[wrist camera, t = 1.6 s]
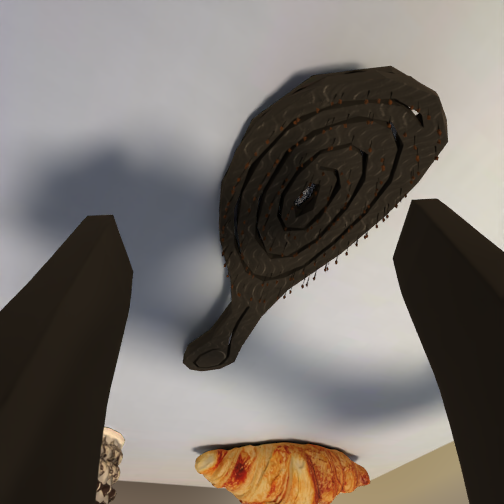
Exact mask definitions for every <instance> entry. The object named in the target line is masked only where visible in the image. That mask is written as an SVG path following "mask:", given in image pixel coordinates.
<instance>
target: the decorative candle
mask: <svg viewBox="0 0 504 504" xmlns="http://www.w3.org/2000/svg"><path fill="white" fill-rule="evenodd" d="M124 441H125V439H124V438H123V437H122V435H121V434H120V433H118V432H116V431H114V430H112V429H110V428H106V427H104V431H103V439H102V446H101V455H100V464H99V473H98V482H97V491H96V502H95V504H108V503H109V502H111V501H113V500H114V499H115V496H116V490H114V489H113V488H112V487H111V486H112V485H113V484H114V483H115V482H116V481H117V480H118V478H119V476H120V469H119V467H118V465H119V464H120V463H121V460H122V458H123V454H122V451H121V449H122V447H123V444H124Z"/></svg>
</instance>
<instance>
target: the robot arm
mask: <svg viewBox="0 0 504 504" xmlns="http://www.w3.org/2000/svg"><path fill="white" fill-rule="evenodd" d="M393 261H394V266H395V270H396V274H397V278H398V282H399V286H400V289H401V293H402V296H403V298H404V301H405V304H406V306H407V309H408V311H409V314H410V316H411V319H412V321H413V324H414V326H415V328H416V331H417V333H418V336H419V338H420V341H421V343H422V346H423V348H424V350H425V353H426V355H427V358H428V360H429V363H430V365H431V368H432V370H433V373H434V375H435V378H436V381H437V384H438V386H439V389H440V393H441V396H442V399H443V403H444V406H445V410H446V413H447V417H448V420H449V424H450V427H451V431H452V435H453V439H454V442H455V446H456V450H457V454H458V457H459V461H460V465H461V469H462V473H463V478H464V482H465V486H466V491H467V495H468V499H469V504H504V252H503V251H502V250H501V249H499V248H498V247H497V246H496V245H494V244H493V243H492V242H491V241H489V240H488V239H487V238H486V237H484V236H483V235H482V234H481V233H480V232H478V231H477V230H476V229H475V228H473V227H472V226H471V225H470V224H469V223H467V222H466V221H465V220H464V219H462V218H461V217H460V216H459V215H458V214H456V213H455V212H454V211H453V210H451V209H450V208H449V207H448V206H446V205H445V204H444V203H442V202H441V201H440V200H438V199H418V200H412V201H411V204H410V207H409V210H408V213H407V216H406V219H405V222H404V225H403V228H402V231H401V234H400V237H399V241H398V244H397V247H396V250H395V253H394V256H393ZM132 279H133V270H132V267H131V264H130V261H129V258H128V256H127V253H126V250H125V247H124V244H123V241H122V239H121V236H120V233H119V230H118V227H117V225H116V222H115V219H114V216H113V215H94V216H87V217H86V218H85V219H84V220H83V221H82V222H81V224H80V225H79V226H78V227H77V228H76V229H75V230H74V232H73V233H72V234H71V235H70V236H69V237H68V238H67V240H66V241H65V242H64V243H63V244H62V245H61V247H60V248H59V249H58V250H57V251H56V252H55V253H54V255H53V256H52V257H51V258H50V259H49V260H48V261H47V263H46V264H45V265H44V266H43V267H42V268H41V269H40V270H39V271H38V272H37V274H36V275H35V276H34V277H33V278H32V279H31V280H30V281H29V282H28V284H27V285H26V286H25V287H24V288H23V289H22V290H21V291H20V292H19V293H18V294H17V295H16V296H15V297H14V298H13V299H12V300H11V301H10V302H9V303H8V304H7V305H6V306H5V307H4V308H3V309H2V310H1V311H0V504H95V502H96V491H97V482H98V473H99V464H100V455H101V446H102V439H103V431H104V424H105V416H106V409H107V403H108V398H109V393H110V388H111V384H112V380H113V376H114V372H115V367H116V363H117V359H118V355H119V351H120V347H121V343H122V338H123V334H124V330H125V326H126V321H127V317H128V313H129V308H130V299H131V290H132Z"/></svg>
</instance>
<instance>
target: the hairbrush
mask: <svg viewBox="0 0 504 504" xmlns="http://www.w3.org/2000/svg"><path fill="white" fill-rule="evenodd" d="M408 106H409V107H410V108H409V107H408ZM413 109H414V110H415V111H417V112H418V113H419V114H417V115H416V116H415V115H414V113H413V112H412V111H411V110H413ZM390 122H392V123H393V125H394V127H395V129H396V131H397V133H396V141H395V137H394V135H393V133H392V131H391V124H390ZM447 142H448V133H447V119H446V116H445V113H444V110H443V107H442V104H441V102H440V99H439V96H438V94H437V93H436V92H435V91H433V90H432V89H430V88H428V87H426V86H425V85H423V84H421V83H420V82H418V81H416V80H415V79H414V78H412V77H411V76H407V75H406V74H404V73H402V72H401V71H399V70H397V69H395V68H394V67H392V66H386V67H377V68H369V69H360V70H352V71H344V72H336V73H328V74H320V75H313V76H311V77H310V78H309V79H307V80H306V81H304V82H303V83H302V84H300V85H299V86H298V87H296V88H295V89H293V90H292V91H291V92H289V93H288V94H286V95H285V96H284V97H282V98H281V99H280V100H278V101H277V102H275V103H274V104H273V105H271V106H270V107H268V108H267V109H266V110H264V111H263V112H262V113H260V114H259V115H257V116H256V117H255V118H253V119H252V121H251V123H250V125H249V127H248V129H247V131H246V133H245V135H244V137H243V139H242V141H241V143H240V145H239V146H238V148H237V149H236V152H235V154H234V157H233V159H232V162H231V164H230V166H229V168H228V170H227V172H226V174H225V176H224V178H223V180H222V182H221V194H220V206H219V231H220V242H221V245H222V249H223V252H222V256H223V255H224V256H225V260H226V264H227V268H228V271H229V273H228V275H227V277H229V275H230V279H231V297H232V301H231V303H230V304H229V305H228V307H227V308H226V309H225V311H224V312H223V313H222V315H221V316H220V317H219V319H218V320H217V321H216V323H215V324H214V325H213V327H212V328H211V329H210V330H209V331H207V332H206V333H204V334H203V335H201V336H200V337H199V338H197V339H196V340H194V341H193V342H191V343H190V344H189V345H188V347H187V349H186V351H185V353H184V356H183V357H184V358H183V363H184V364H185V365H186V366H187V367H188V368H189V369H191V370H197V371H208V370H215V369H221V368H223V367H225V366H227V365H229V364H231V363H233V362H234V361H235V359H236V357H237V355H238V353H239V351H240V349H241V347H242V345H243V344H244V342H245V341H246V339H247V338H248V336H249V335H250V333H251V332H252V330H253V329H254V327H255V326H256V324H257V323H258V321H259V320H260V318H261V317H262V316H263V315H264V314H265V313H266V311H267V310H268V309H269V308H270V307H271V306H272V305H273V304H274V303H275V302H276V301H277V300H279V298H280V297H281V296H282V295H283V294H284V293H285V292H286V291H287V290H288V289H290V288H291V287H293V286H294V285H296V284H297V283H299V282H300V281H301V280H303V279H304V278H306V277H307V276H310V274H312V273H313V272H315V271H317V270H318V269H319V268H320V267H322V266H323V265H325V264H326V266H327V263H328V262H329V261H331V260H332V259H334V258H335V257H338V255H340V254H341V253H342V252H343V251H345V250H346V249H348V247H349V246H350V245H352V244H353V243H354V242H355V241H356V240H357V241H356V244H355V245H356V246H357V245H358V244H357V242H358V239H359V238H360V237H361V236H362V235H363V234H366V236H365V235H364V238H365V239H366V238H367V237H368V235H367V233H368V230H369V229H371V228H372V227H373V226H374V225H375V224H376V228H378V225H377V223H378V222H379V221H380V220H381V219H382V218H383V219H382V220H383V222H384V221H385V219H384V217H385V216H386V218H388V217H389V216H388V213H389V212H390V211H391V210H392V209H393V208H394V207H396V208H397V206H398V205H397V204H398V203H399V202H401V200H402V199H403V198H404V197H405V198H406V197H407V195H406V194H407V193H408V192H409V191H410V190H411V189H412V188H413V187H414V186H415V185H416V184H417V183H418V182H419V181H420V179H421V178H422V177H423V175H424V174H425V173H426V171H427V170H428V168H429V167H430V166H431V164H432V163H433V162H434V160H437V161H438V158H439V157H438V155H439V153H440V152H441V151H442V149H443V148H444V147H445V145H446V144H447ZM360 150H362V151H363V156H362V154H361V152H360ZM250 165H251V166H250ZM249 167H250V168H249ZM335 169H337V170H336V173H335ZM311 183H314V184H316V185H315V188H314V190H313V193H312V195H311V197H310V198H308V199H307V200H306V201H305V202H304V203H302V204H301V205H300V206H299V207H298V206H296V205H294V201H295V200H296V199H297V198H298V197H299V196H300V197H299V198H302V196H303V191H304V190H305V189H306V188H307V187H308V186H309V187H310V186H311ZM262 191H263V192H262ZM240 192H241V193H240ZM261 193H262V196H261V200H260V204H259V207H258V199H259V197H260V195H261ZM281 193H282V195H281ZM239 195H240V200H239V206H238V213H237V232H238V238H239V243H240V249H241V254H240V250H239V247H238V243H237V240H236V237H235V233H234V209H235V206H236V203H237V200H238V198H239ZM279 204H280V209H281V215H280V212H279V209H278V207H279ZM257 208H258V211H257ZM256 217H257V222H258V224H257V226H256ZM281 217H282V218H281ZM257 227H258V230H259V233H260V235H261V238H262V240H263V242H262V241H261V240H260V239H259V236H258V232H257ZM366 232H367V233H366ZM346 255H348V253H347V252H346ZM226 264H224V267H226ZM328 264H329V263H328ZM335 264H337V259H336V261H335ZM326 266H325V269H324V271H326ZM327 271H328V267H327ZM315 276H316V272H315ZM315 276H314V278H313V280H315ZM308 280H309V278H308ZM304 281H305V279H304ZM306 286H308V282H307V284H306ZM301 287H302V289H303V288H304V285H303V284H302V286H301ZM291 289H292V288H291ZM291 292H292V291H291V290H290V293H289V294H291ZM285 294H286V293H285ZM285 297H286V296H285V295H284V296H283V298H284V299H285ZM231 333H232V336H231V340H230V343H229V345H228V342H229V337H230V335H231Z"/></svg>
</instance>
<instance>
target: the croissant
mask: <svg viewBox="0 0 504 504" xmlns="http://www.w3.org/2000/svg"><path fill="white" fill-rule="evenodd" d="M195 469H196V470H197V472H198V473H200V474H203V475H204V477H205V478H206V479H207V480H208V481H209V482H211V483H212V485H213V486H215V487H217V488H222V487H226V489H227V490H228V491H230V492H232V493H233V494H234V495H235V497H236V498H238V499H239V501H240V502H241V503H242V504H318V503H319V504H330V503H331V502H332V501H333V500H334V498H335V497H336V495H338V494H339V493H340V492H342V493H350V492H352V491H354V489H356V488H357V487H358V486H365V485H367V484H370V480H369V475H368V473H367V471H366V470H365V469H364V468H363V467H362V466H360V465H358V464H356V463H354V462H353V461H351V460H350V459H349V458H348V457H347V456H346V455H345V454H343V453H342V452H339V451H337V450H335V449H333V450H331V449H326V448H325V447H321V446H318V445H312V444H309V443H308V444H304V445H303V444H297V443H289V442H281V443H271V444H263V445H259V446H251V445H248V446H243V447H240V448H237V447H235V448H233V449H231V450H224V449H216V450H211V451H208V452H205V453H203V454H202V455H200V456H199V457H198V458H197V459H196V463H195Z"/></svg>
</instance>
